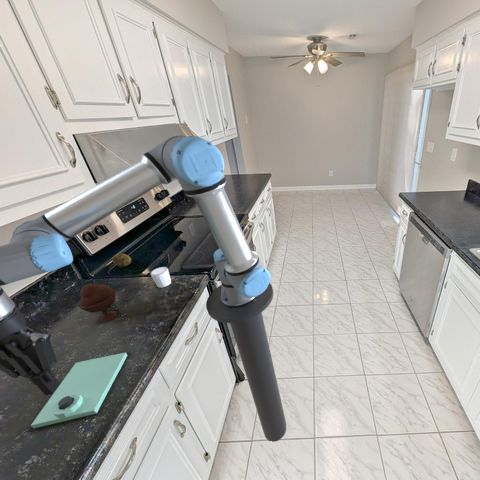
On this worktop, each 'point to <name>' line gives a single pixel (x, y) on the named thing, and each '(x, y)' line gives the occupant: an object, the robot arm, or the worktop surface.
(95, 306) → the ice cream bowl
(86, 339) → the worktop surface
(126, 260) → the potato
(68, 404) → the button
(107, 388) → the scale
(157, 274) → the shot glass
